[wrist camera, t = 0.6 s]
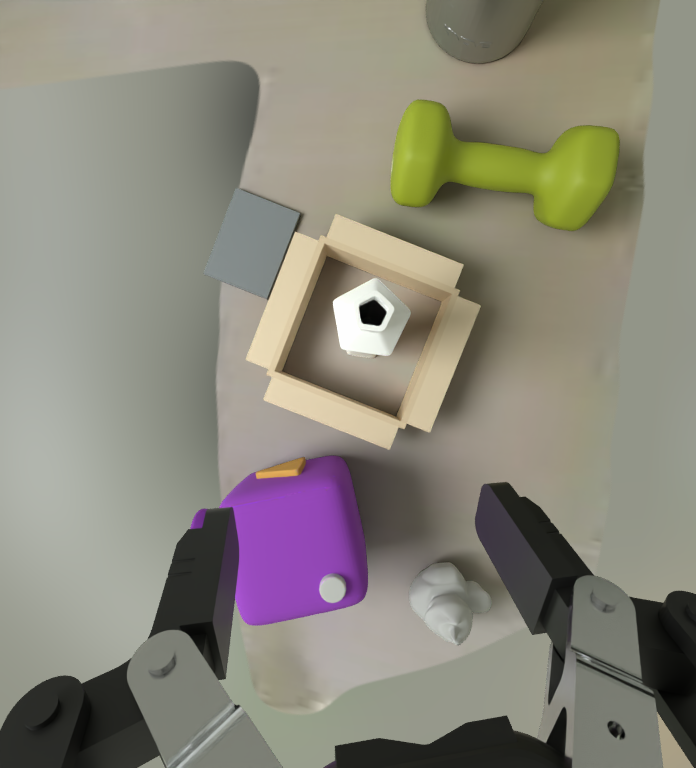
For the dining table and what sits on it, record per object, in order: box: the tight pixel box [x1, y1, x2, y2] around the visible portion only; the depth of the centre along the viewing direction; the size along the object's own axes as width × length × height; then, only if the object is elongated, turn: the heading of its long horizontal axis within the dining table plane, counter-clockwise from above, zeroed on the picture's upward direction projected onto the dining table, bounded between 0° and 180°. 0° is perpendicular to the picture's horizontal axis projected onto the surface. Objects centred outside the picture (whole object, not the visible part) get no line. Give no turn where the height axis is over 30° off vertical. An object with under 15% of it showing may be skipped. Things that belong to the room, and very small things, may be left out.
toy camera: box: [191, 456, 368, 625], centre depth 31 cm, size 11×14×10 cm
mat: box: [204, 188, 300, 299], centre depth 35 cm, size 8×6×1 cm
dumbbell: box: [391, 100, 620, 231], centre depth 32 cm, size 16×8×7 cm, turn 81°
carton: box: [246, 214, 481, 450], centre depth 34 cm, size 16×16×4 cm
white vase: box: [333, 278, 411, 358], centre depth 28 cm, size 5×4×15 cm
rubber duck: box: [409, 562, 492, 645], centre depth 32 cm, size 5×7×8 cm
